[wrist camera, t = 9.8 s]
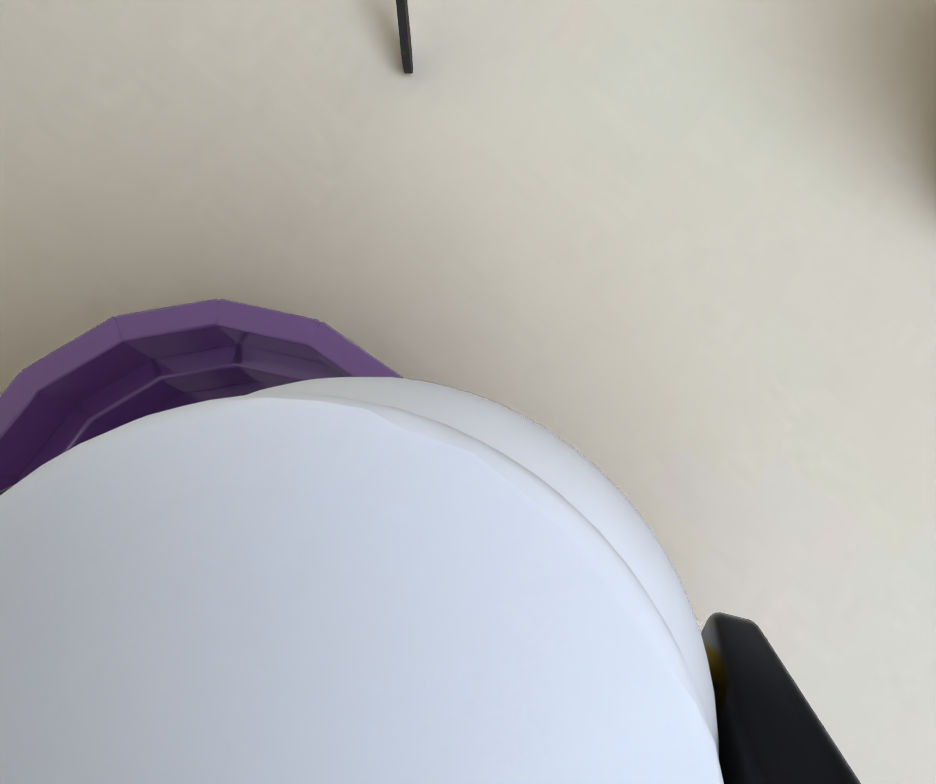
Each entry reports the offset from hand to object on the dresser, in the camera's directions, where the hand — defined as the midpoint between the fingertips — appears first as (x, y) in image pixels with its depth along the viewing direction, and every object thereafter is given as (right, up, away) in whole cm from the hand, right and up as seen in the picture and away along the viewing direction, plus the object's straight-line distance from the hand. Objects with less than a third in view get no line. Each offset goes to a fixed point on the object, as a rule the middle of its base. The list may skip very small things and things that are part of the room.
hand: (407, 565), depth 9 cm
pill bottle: (0, -3, +6) cm, 7 cm away
